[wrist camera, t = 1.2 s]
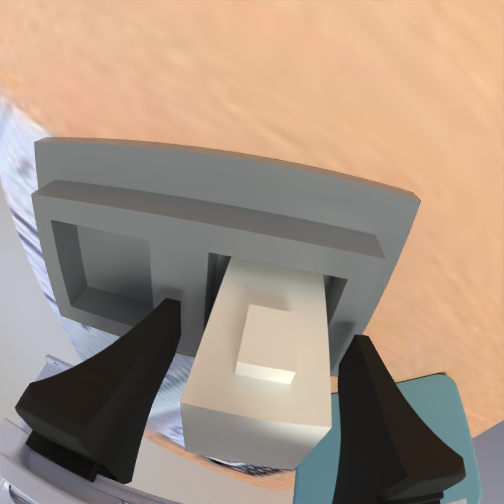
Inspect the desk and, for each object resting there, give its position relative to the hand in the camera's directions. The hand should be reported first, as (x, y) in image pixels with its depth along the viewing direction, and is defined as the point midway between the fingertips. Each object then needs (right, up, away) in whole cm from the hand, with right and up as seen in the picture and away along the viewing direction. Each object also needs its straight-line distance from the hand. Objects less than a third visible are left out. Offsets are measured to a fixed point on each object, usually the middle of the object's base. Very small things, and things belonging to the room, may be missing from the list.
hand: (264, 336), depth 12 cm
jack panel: (-3, +3, +4) cm, 6 cm away
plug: (0, 0, +4) cm, 4 cm away
